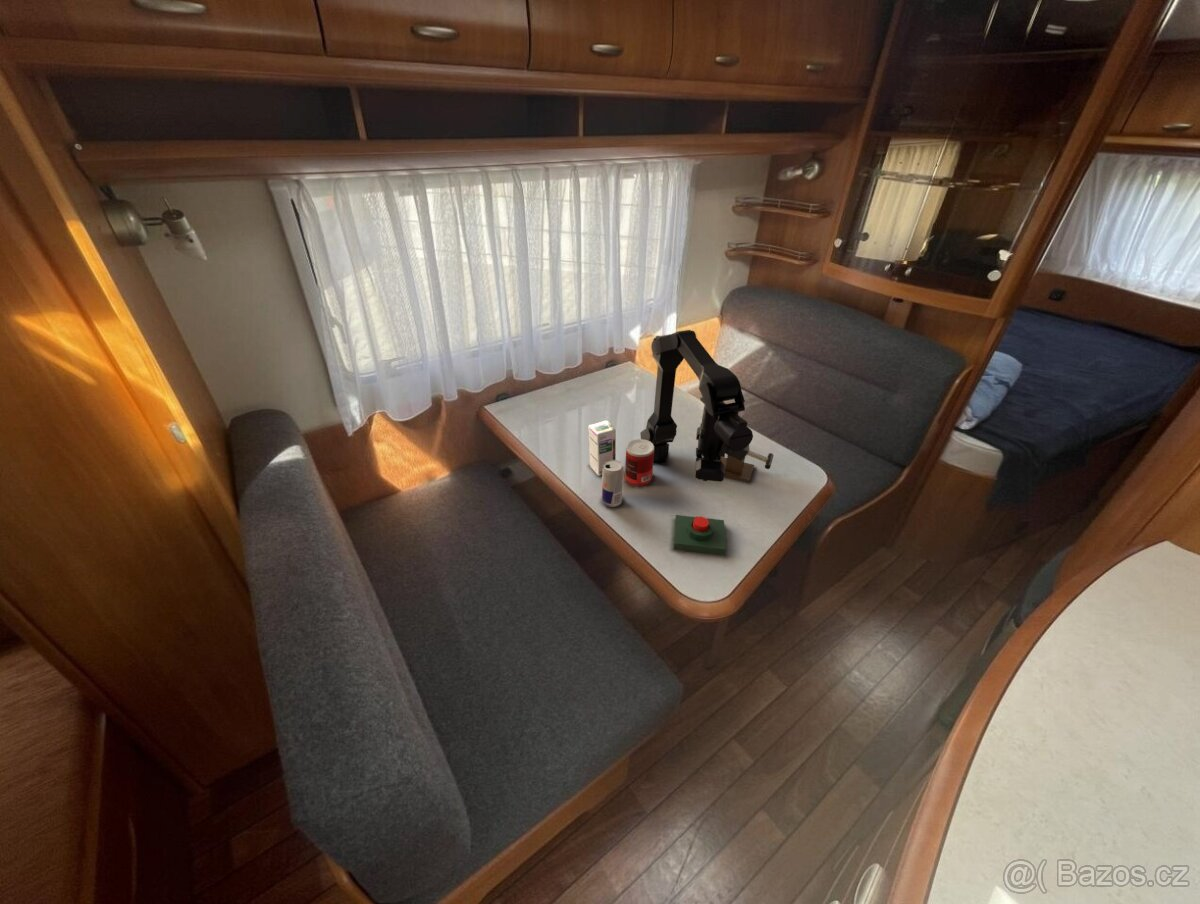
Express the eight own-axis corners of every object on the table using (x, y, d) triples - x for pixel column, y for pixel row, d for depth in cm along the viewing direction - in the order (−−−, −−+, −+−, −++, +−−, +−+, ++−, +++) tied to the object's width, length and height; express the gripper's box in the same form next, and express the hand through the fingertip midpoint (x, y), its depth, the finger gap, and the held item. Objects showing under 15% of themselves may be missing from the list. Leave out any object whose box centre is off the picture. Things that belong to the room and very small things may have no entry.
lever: (771, 459, 136) (775, 453, 134) (768, 471, 131) (771, 464, 130) (734, 444, 138) (736, 438, 137) (729, 455, 134) (732, 449, 132)
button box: (673, 549, 114) (674, 537, 112) (674, 521, 122) (676, 509, 120) (724, 555, 113) (726, 543, 110) (722, 526, 121) (725, 514, 118)
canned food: (654, 473, 139) (657, 441, 133) (648, 489, 133) (650, 457, 126) (629, 467, 141) (630, 436, 135) (621, 484, 135) (622, 452, 128)
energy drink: (601, 495, 131) (601, 459, 124) (620, 494, 131) (621, 458, 124) (603, 508, 126) (603, 472, 119) (623, 507, 127) (624, 471, 120)
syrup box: (598, 476, 137) (598, 434, 129) (589, 465, 142) (588, 424, 133) (615, 471, 140) (616, 429, 131) (606, 460, 144) (606, 419, 136)
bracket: (753, 468, 141) (759, 440, 135) (748, 483, 135) (754, 455, 129) (719, 459, 144) (724, 432, 139) (713, 474, 138) (718, 446, 133)
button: (692, 531, 114) (693, 525, 113) (692, 521, 117) (693, 515, 116) (708, 533, 114) (709, 527, 113) (707, 522, 117) (708, 517, 116)
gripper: (754, 454, 99) (740, 509, 108) (747, 408, 114) (736, 461, 123) (699, 448, 101) (691, 503, 110) (700, 404, 116) (693, 456, 125)
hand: (704, 480), depth 117 cm, fingers closed
